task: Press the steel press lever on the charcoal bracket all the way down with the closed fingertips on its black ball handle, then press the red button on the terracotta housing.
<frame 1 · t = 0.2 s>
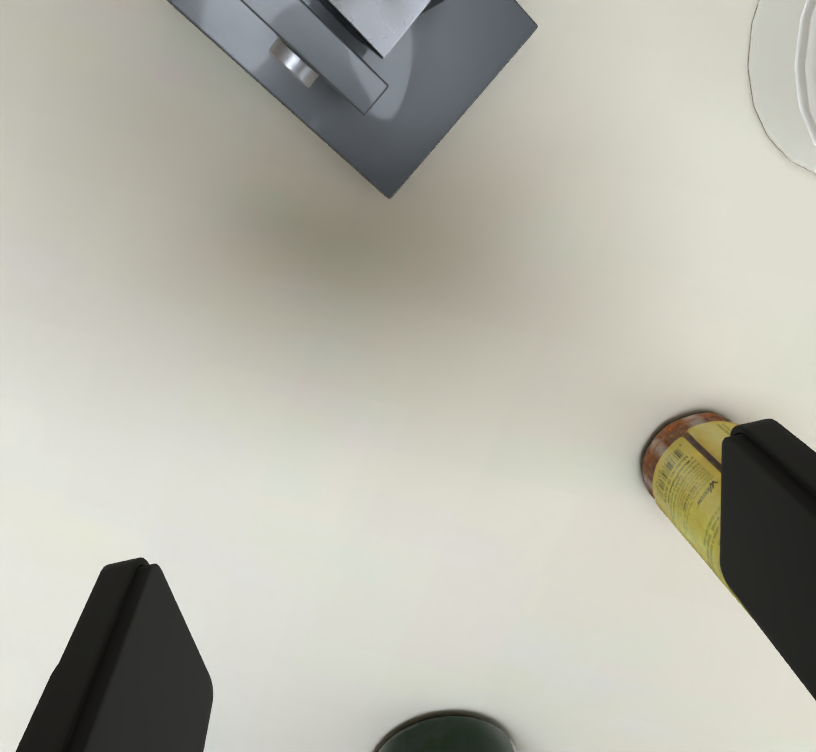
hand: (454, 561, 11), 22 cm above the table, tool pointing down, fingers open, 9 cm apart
lever bracket: (349, 7, 27), on the table
sauce bottle: (690, 451, 38), on the table
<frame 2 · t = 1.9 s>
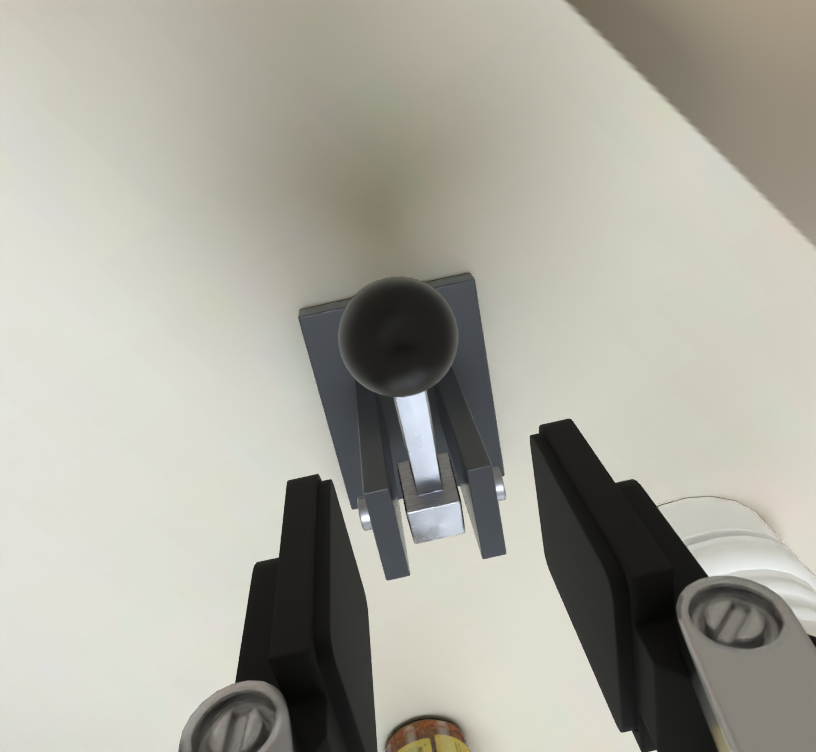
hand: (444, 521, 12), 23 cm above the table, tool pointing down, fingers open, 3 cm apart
lever bracket: (406, 392, 37), on the table
sauce bottle: (427, 740, 49), on the table
press lever: (416, 427, 24), point 12 cm above the table, hinge at 25.0°
honey pot: (679, 574, 45), on the table
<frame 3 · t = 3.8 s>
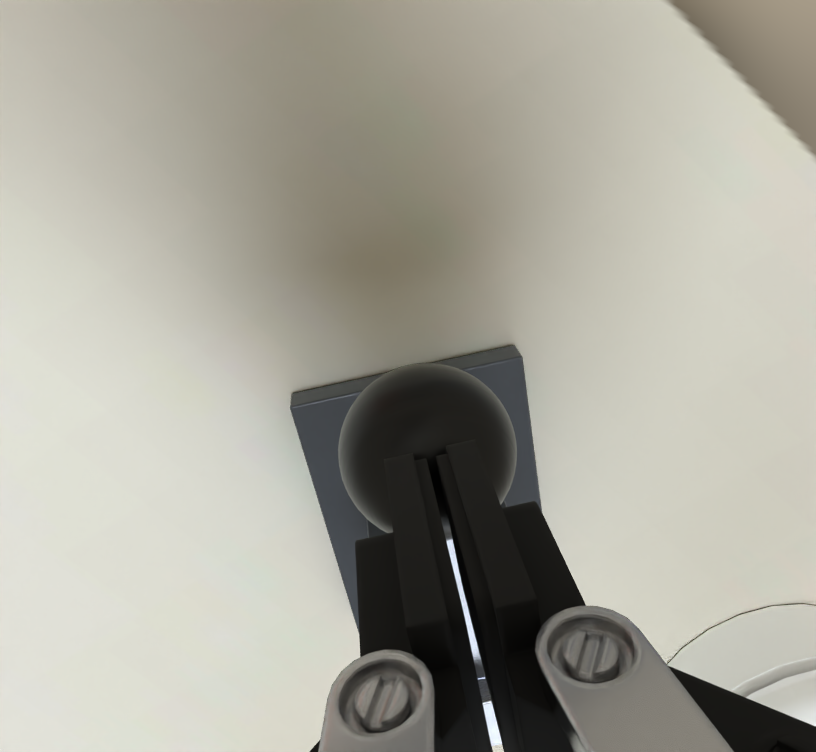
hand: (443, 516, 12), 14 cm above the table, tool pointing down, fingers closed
lever bracket: (429, 491, 29), on the table
press lever: (454, 586, 17), point 11 cm above the table, hinge at 12.9°, touching gripper
honey pot: (756, 690, 37), on the table
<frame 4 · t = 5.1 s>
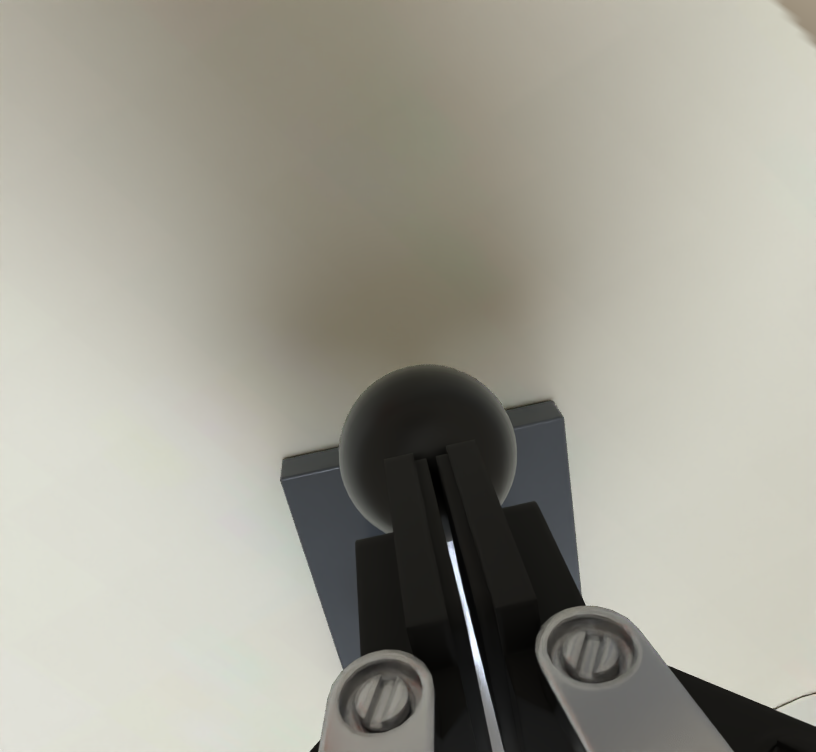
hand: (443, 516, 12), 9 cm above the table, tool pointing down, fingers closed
lever bracket: (447, 568, 24), on the table
press lever: (472, 663, 14), point 9 cm above the table, hinge at -16.3°, touching gripper
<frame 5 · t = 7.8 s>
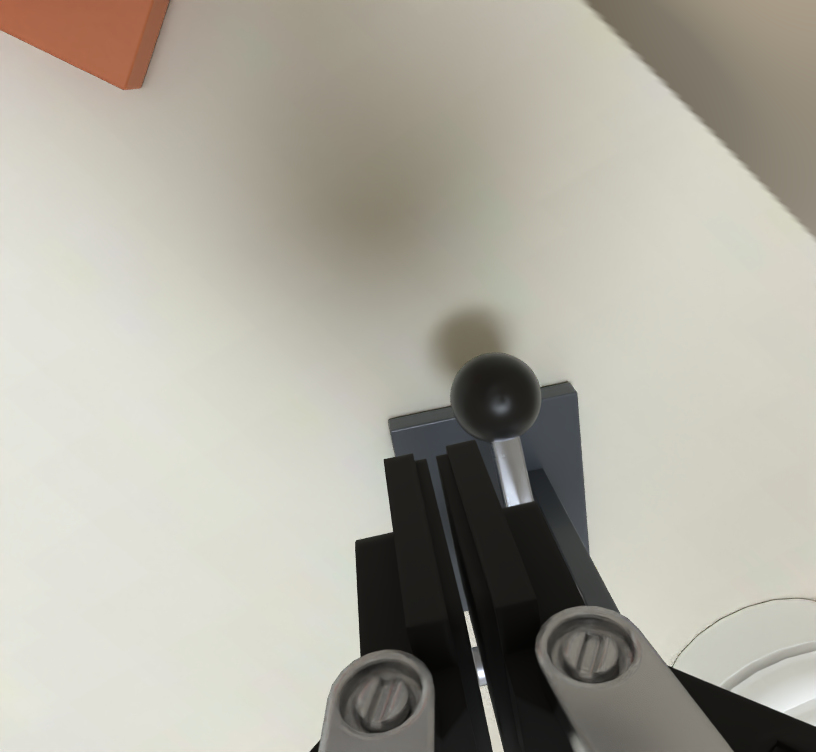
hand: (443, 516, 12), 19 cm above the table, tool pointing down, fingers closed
lever bracket: (493, 500, 35), on the table
press lever: (521, 517, 26), point 7 cm above the table, hinge at -29.5°
honey pot: (759, 673, 43), on the table
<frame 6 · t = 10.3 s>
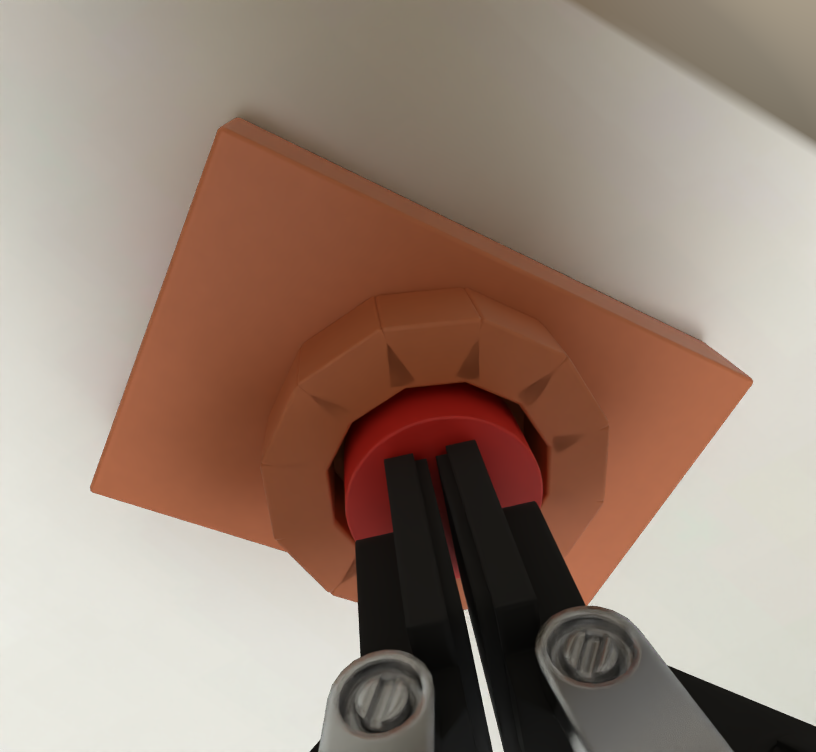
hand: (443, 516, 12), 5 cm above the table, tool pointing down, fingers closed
button box: (416, 390, 16), on the table
start button: (438, 477, 13), point 4 cm above the table, slide at -0.6 cm, touching gripper
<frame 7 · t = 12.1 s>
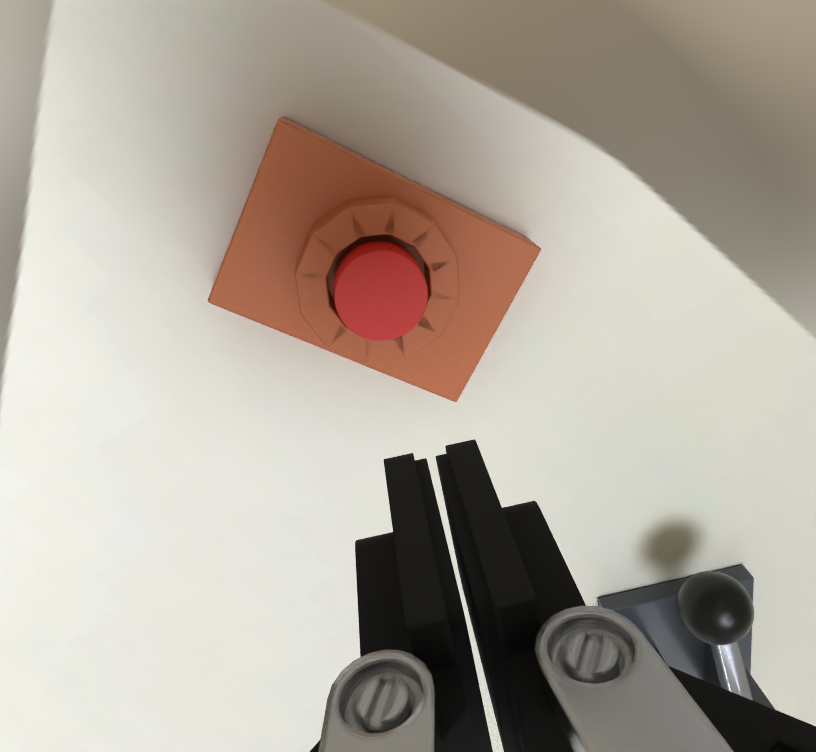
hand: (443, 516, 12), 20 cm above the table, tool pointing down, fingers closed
button box: (373, 262, 30), on the table
lever bracket: (672, 652, 43), on the table
start button: (380, 290, 26), point 4 cm above the table, slide at 0.1 cm
press lever: (739, 702, 34), point 7 cm above the table, hinge at -29.5°
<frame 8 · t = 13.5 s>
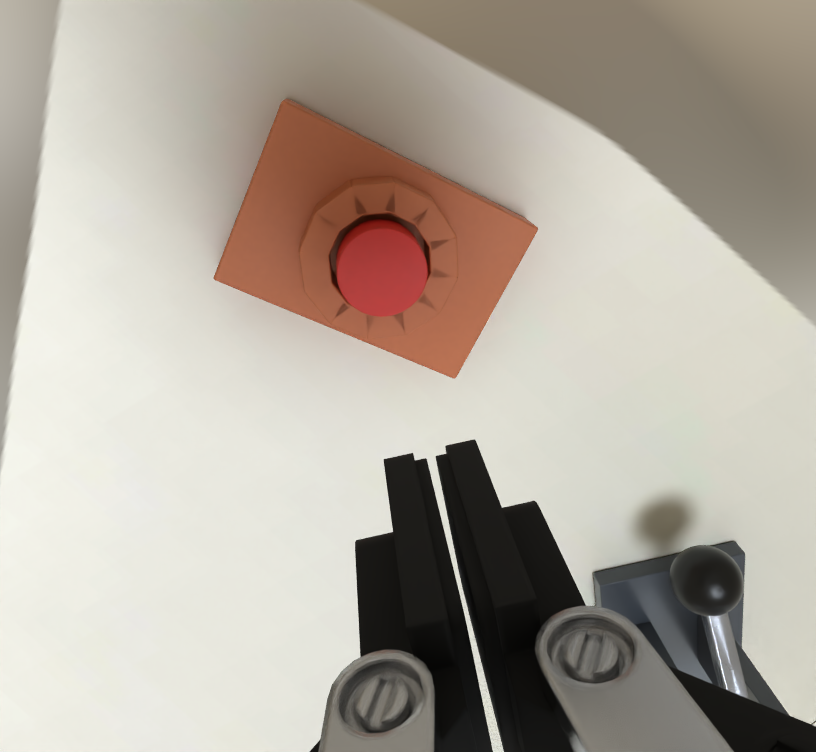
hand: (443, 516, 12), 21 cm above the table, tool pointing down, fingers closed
button box: (374, 242, 31), on the table
lever bracket: (666, 626, 44), on the table
start button: (381, 267, 27), point 4 cm above the table, slide at 0.1 cm
press lever: (728, 671, 35), point 7 cm above the table, hinge at -29.5°
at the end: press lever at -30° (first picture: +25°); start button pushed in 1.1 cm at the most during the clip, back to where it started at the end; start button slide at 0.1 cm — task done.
